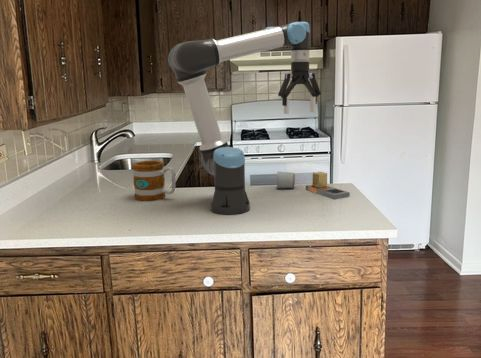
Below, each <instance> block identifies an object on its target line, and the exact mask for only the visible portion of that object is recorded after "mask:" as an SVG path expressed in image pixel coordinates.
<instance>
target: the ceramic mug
mask: <svg viewBox="0 0 481 358" xmlns="http://www.w3.org/2000/svg"><path fill="white" fill-rule="evenodd" d="M295 178H296V175H295V173H294V172H288V171H287V172H286V171H277V174H276V189H293V188H295V185H296V182H295V181H296V180H295Z"/></svg>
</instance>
